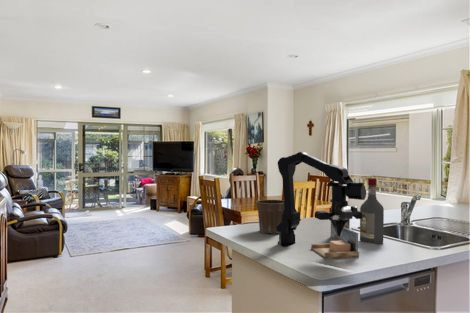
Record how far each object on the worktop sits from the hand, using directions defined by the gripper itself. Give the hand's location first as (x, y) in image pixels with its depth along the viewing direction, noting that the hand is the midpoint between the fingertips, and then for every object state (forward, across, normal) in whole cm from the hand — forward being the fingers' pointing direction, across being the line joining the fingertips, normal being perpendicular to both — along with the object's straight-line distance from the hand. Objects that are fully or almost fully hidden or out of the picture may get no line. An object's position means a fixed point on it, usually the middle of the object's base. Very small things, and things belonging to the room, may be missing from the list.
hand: (338, 235), depth 144 cm
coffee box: (+8, +14, +27) cm, 32 cm away
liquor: (+8, +25, +17) cm, 32 cm away
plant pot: (+8, -16, +45) cm, 48 cm away
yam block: (+6, +1, 0) cm, 6 cm away
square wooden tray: (+8, -2, 0) cm, 8 cm away
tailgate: (+3, +6, 0) cm, 6 cm away
